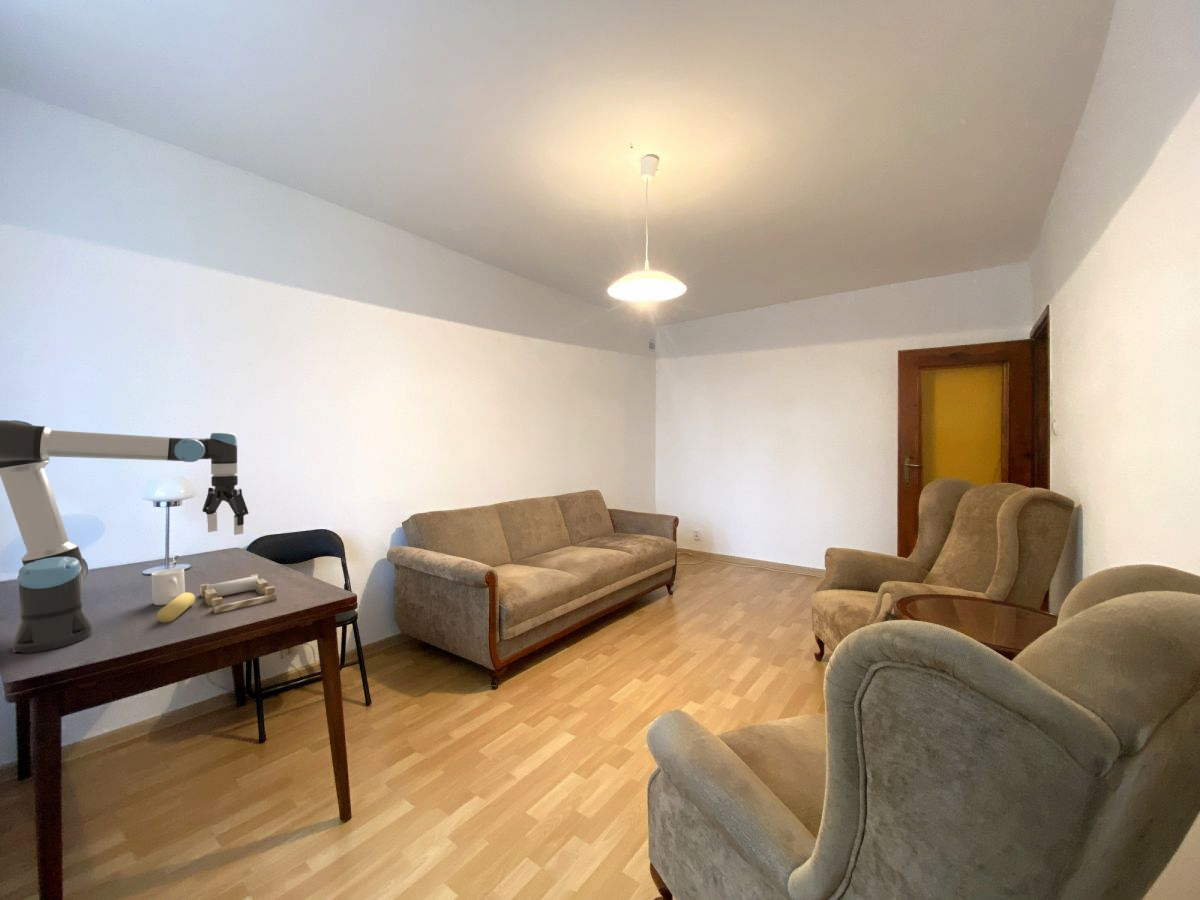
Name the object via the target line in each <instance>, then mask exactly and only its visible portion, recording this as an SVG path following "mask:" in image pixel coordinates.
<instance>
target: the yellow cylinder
mask: <svg viewBox="0 0 1200 900" xmlns="http://www.w3.org/2000/svg"><path fill="white" fill-rule="evenodd" d="M195 601H196V596H195V595H194V594H193V593H192V592H186V591H185V593H182V594H180V595H179V596H178V597H176V598H175V599H174V600H173V601H171V602H170V603H169V604H166V605H165V606H163V607H162V608H161V609H159V610H158V611H157V613H156V619H157V620H158V621H159V622H160V623H171V622H173V621H174V620H176V619H177V618H178V617H179V616H180V615H182V613H184V612H185V611H187V609H189V608H190V607H191V606H192V605H193V604H194V603H195Z"/></svg>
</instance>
